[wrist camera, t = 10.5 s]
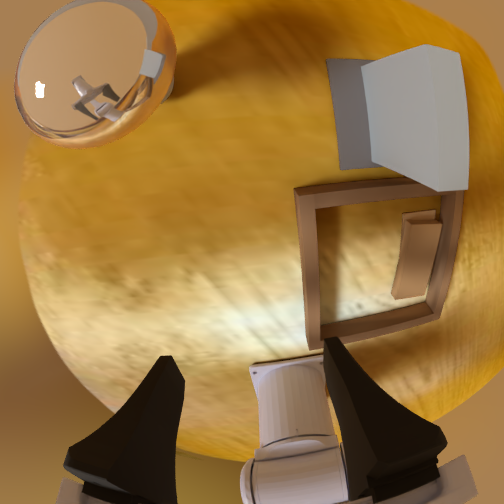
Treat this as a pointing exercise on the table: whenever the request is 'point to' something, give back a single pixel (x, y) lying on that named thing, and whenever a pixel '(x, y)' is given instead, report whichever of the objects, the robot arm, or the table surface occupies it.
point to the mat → (350, 113)
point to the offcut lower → (416, 218)
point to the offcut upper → (416, 258)
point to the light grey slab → (419, 116)
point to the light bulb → (95, 72)
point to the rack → (363, 193)
